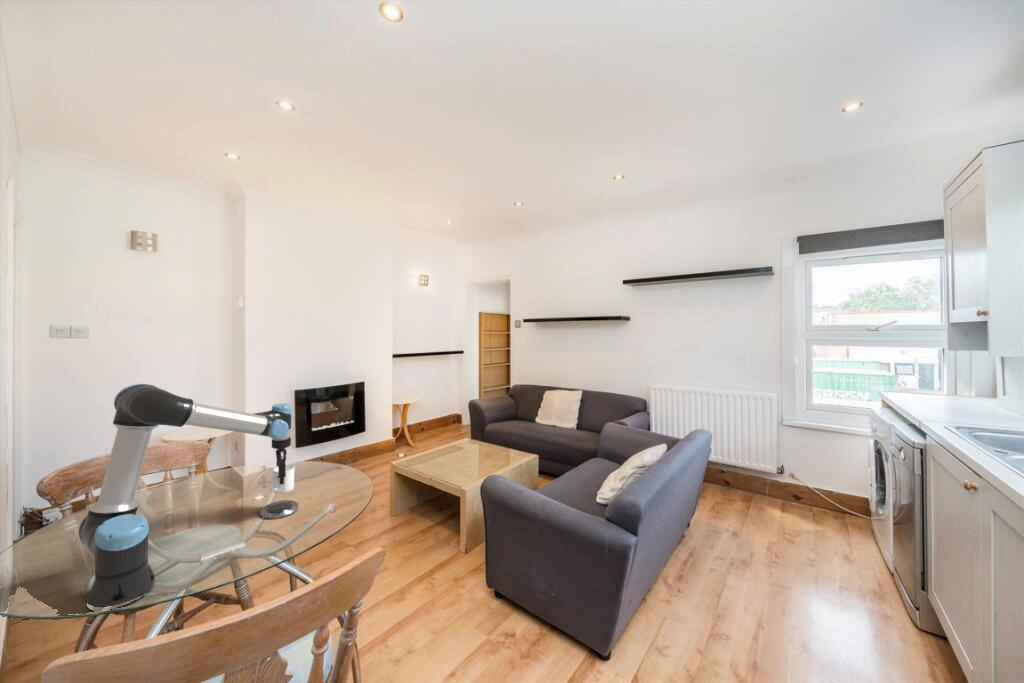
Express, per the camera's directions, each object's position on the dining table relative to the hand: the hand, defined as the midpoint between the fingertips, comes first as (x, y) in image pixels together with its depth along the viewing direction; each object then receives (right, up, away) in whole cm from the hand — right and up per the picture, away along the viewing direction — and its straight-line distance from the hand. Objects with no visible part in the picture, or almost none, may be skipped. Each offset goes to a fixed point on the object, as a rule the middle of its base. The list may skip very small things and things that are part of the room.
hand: (280, 485), depth 173 cm
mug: (0, -3, -1) cm, 3 cm away
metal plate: (-1, -12, +1) cm, 12 cm away
